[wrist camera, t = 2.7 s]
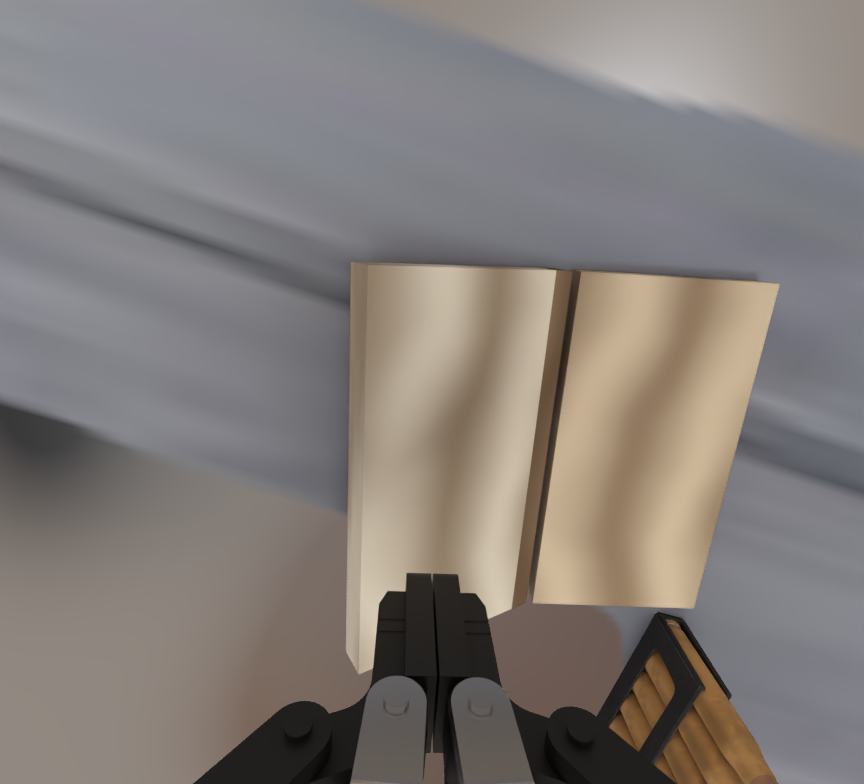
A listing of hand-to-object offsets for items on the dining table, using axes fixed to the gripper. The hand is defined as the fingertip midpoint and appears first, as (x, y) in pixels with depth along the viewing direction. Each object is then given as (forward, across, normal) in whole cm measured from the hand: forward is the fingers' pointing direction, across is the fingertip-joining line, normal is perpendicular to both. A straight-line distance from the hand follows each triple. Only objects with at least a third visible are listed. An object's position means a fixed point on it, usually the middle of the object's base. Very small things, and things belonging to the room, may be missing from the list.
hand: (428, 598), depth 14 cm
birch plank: (+10, -1, 0) cm, 10 cm away
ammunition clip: (+12, -14, +16) cm, 25 cm away
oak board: (+12, -11, 0) cm, 17 cm away
